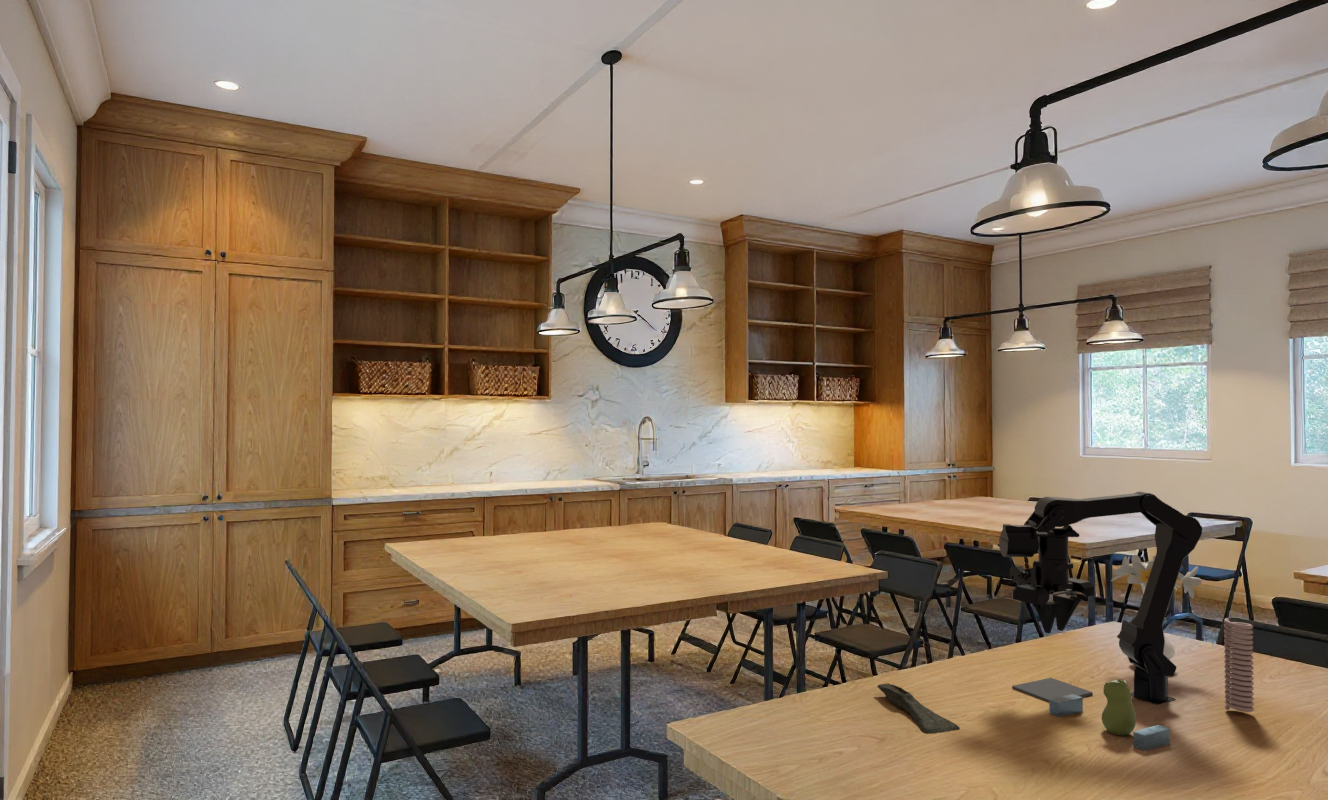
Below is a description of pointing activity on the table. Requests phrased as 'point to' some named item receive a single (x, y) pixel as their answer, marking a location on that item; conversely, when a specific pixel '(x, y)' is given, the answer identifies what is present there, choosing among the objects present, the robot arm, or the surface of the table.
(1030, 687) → the mat
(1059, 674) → the table surface
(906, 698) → the tool
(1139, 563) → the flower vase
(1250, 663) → the coil
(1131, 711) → the pear
